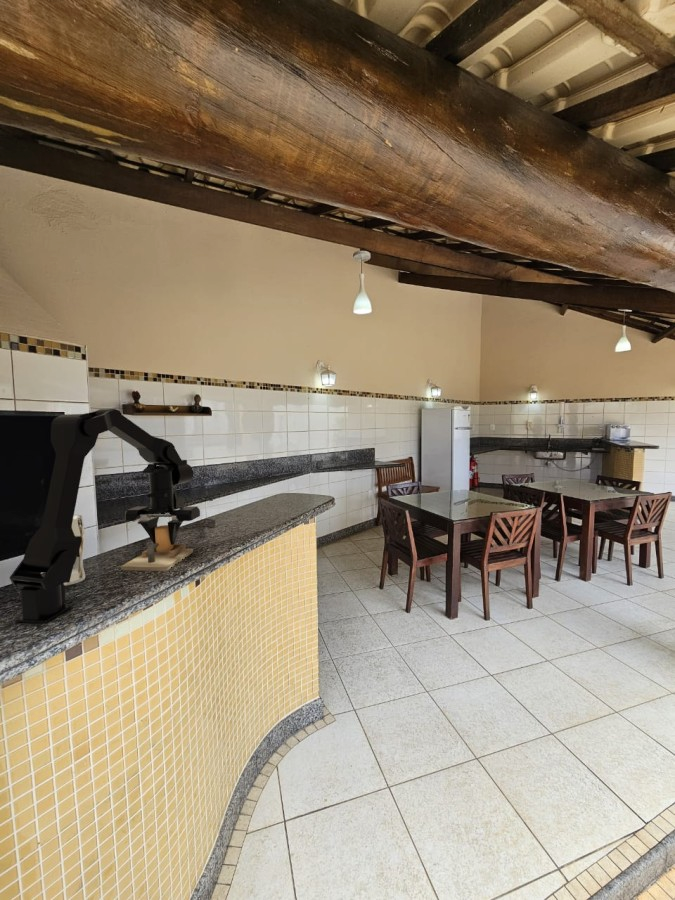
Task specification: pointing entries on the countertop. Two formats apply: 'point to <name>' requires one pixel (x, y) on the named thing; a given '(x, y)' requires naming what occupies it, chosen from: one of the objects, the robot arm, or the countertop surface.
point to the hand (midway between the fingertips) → (164, 544)
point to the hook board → (158, 558)
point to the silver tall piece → (78, 569)
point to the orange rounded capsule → (162, 538)
